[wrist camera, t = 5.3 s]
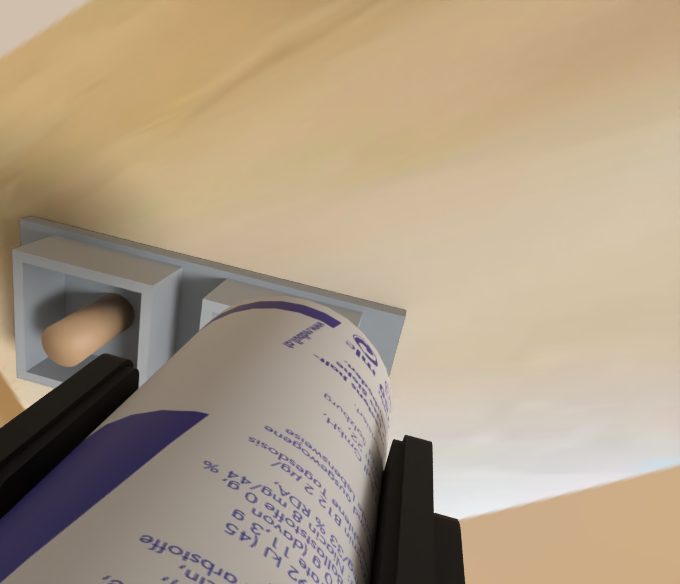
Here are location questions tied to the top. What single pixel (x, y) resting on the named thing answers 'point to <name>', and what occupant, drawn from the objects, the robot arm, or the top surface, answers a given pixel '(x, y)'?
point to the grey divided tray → (140, 302)
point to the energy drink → (223, 464)
